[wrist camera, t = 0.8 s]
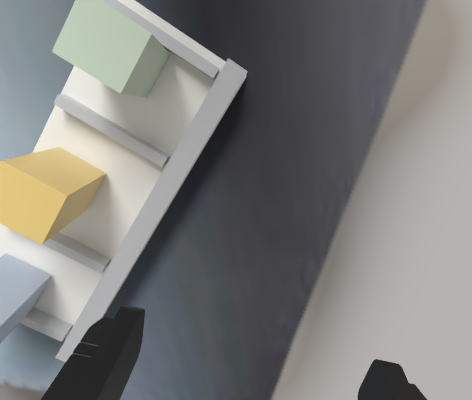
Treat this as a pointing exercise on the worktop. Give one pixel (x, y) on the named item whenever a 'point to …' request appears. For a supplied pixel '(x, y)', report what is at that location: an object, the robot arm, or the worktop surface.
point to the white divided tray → (121, 174)
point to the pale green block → (111, 48)
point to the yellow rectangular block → (45, 191)
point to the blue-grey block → (18, 291)
